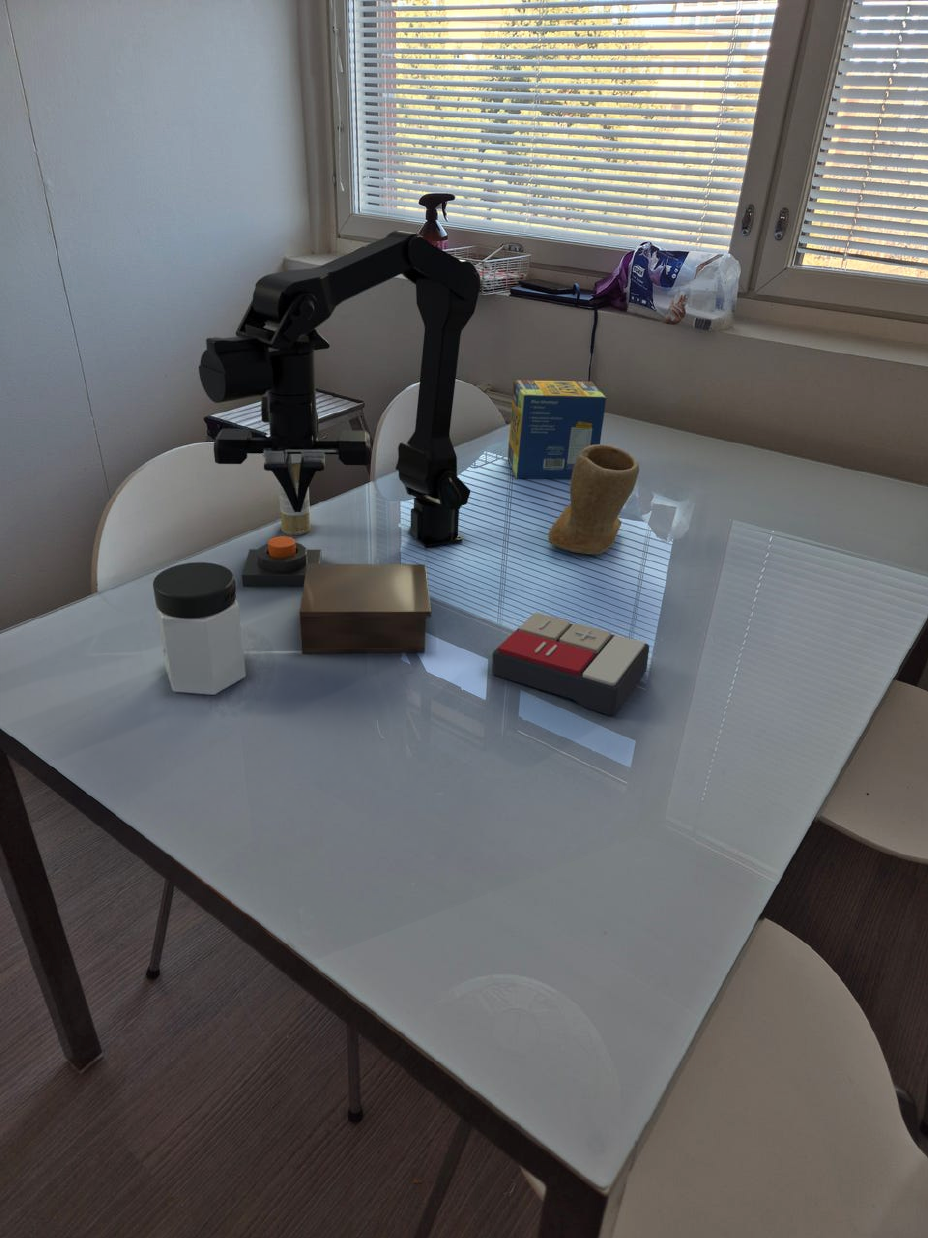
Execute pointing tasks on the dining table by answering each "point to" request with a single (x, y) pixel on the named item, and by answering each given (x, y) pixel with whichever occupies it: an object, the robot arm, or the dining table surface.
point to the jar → (199, 627)
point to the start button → (281, 547)
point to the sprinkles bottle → (291, 520)
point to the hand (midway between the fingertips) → (297, 511)
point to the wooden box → (362, 634)
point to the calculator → (573, 661)
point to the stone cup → (595, 500)
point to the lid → (365, 591)
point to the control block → (278, 567)
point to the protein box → (553, 426)
